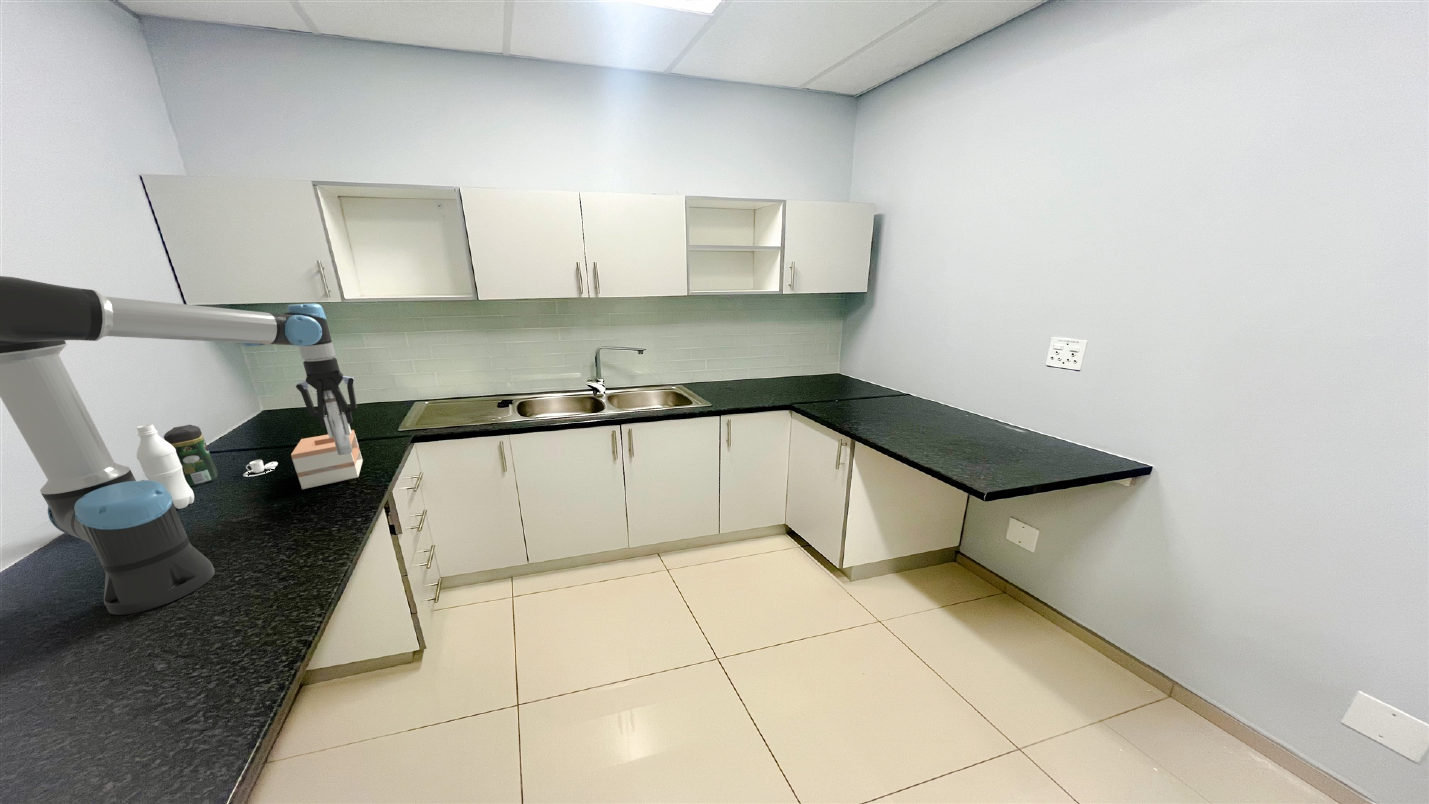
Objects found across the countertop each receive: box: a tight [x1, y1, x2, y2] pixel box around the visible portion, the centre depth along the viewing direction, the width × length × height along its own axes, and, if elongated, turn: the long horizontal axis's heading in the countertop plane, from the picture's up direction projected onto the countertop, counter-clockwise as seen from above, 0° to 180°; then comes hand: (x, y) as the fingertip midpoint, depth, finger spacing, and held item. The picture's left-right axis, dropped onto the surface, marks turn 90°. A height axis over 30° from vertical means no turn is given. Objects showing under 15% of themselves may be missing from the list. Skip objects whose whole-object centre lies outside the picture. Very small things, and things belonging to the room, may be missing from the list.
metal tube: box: [322, 389, 353, 455], centre depth 138 cm, size 4×4×20 cm
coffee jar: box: [163, 424, 219, 487], centre depth 149 cm, size 10×8×19 cm
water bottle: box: [136, 423, 195, 510], centre depth 131 cm, size 7×7×25 cm
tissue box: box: [290, 429, 364, 490], centre depth 151 cm, size 16×14×12 cm
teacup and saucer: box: [242, 459, 279, 478], centre depth 157 cm, size 9×8×4 cm
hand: (340, 435), depth 140 cm, fingers closed on metal tube, 3 cm apart
